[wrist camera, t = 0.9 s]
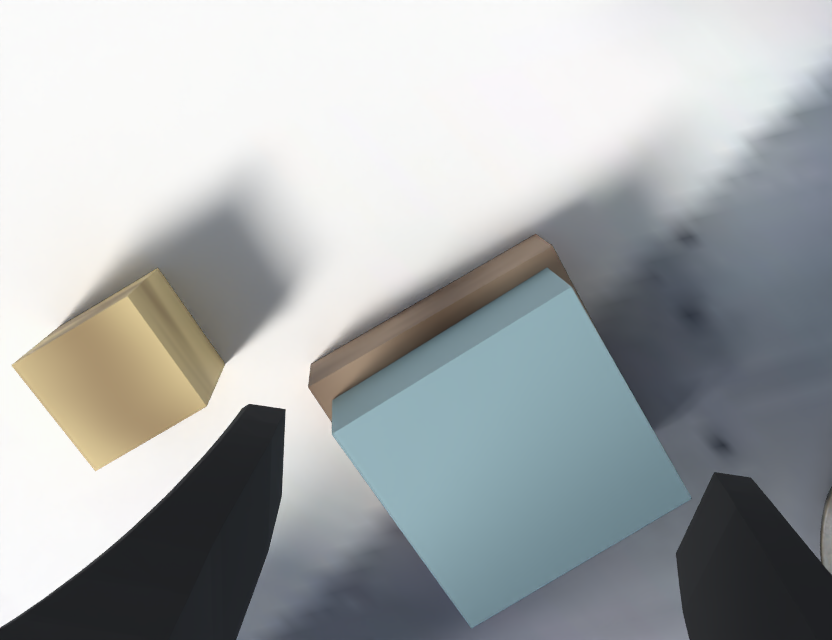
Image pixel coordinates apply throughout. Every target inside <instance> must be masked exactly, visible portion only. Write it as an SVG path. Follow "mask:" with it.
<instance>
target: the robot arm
mask: <svg viewBox="0 0 832 640" xmlns="http://www.w3.org/2000/svg"><path fill="white" fill-rule="evenodd" d="M285 410H286V409H280V408H273V407H267V406H260V405H253V404H248V405H247V406H245V407H244V408H242V409H241V411H240V412H239V414H238V415H237V416H236V418H235V419H234V420H233V421H232V423H231V424H230V425H229V426H228V428H227V429H226V430H225V431H224V433H223V434H222V435H221V436H220V437H219V439H218V440H217V441H216V442H215V443H214V445H213V446H212V447H211V448H210V449H209V450H208V451H207V453H206V454H205V455H204V456H203V457H202V458H201V459H200V461H199V462H198V463H197V464H196V465H195V466H194V467H193V468H192V469H191V470H190V471H189V472H188V473H187V474H186V475H185V477H184V478H183V479H182V480H181V481H180V482H179V483H178V484H177V485H176V486H175V487H174V488H173V489H172V490H171V491H170V492H169V493H168V494H167V495H166V496H165V497H164V498H163V499H162V500H161V501H160V502H159V503H158V504H157V505H156V506H155V507H154V508H153V509H152V510H151V511H150V512H149V513H147V514H146V515H145V516H144V517H143V518H142V519H141V520H140V521H139V522H138V523H137V524H136V525H135V526H134V527H133V528H132V529H130V530H129V531H128V532H127V533H126V534H125V535H124V536H123V537H121V538H120V539H119V540H118V541H117V542H116V543H115V544H113V545H112V546H111V547H110V548H109V549H107V550H106V551H105V552H104V553H103V554H101V555H100V556H99V557H98V558H96V559H95V560H94V561H93V562H92V563H90V564H89V565H88V566H87V567H85V568H84V569H83V570H82V571H80V572H79V573H78V574H76V575H75V576H74V577H72V578H71V579H70V580H68V581H67V582H66V583H64V584H63V585H61V586H60V587H59V588H57V589H56V590H55V591H53V592H52V593H51V594H49V595H48V596H47V597H45V598H44V599H43V600H41V601H40V602H38V603H37V604H35V605H34V606H33V607H31V608H30V609H28V610H27V611H25V612H24V613H22V614H21V615H19V616H18V617H16V618H15V619H13V620H12V621H10V622H8V623H7V624H5V625H4V626H2V627H1V628H0V640H236V638H237V636H238V633H239V630H240V628H241V625H242V622H243V619H244V617H245V614H246V611H247V608H248V606H249V603H250V600H251V598H252V595H253V592H254V589H255V587H256V584H257V581H258V578H259V576H260V573H261V570H262V567H263V565H264V562H265V559H266V556H267V553H268V550H269V546H270V542H271V538H272V534H273V530H274V526H275V522H276V518H277V513H278V509H279V505H280V501H281V497H282V477H283V455H284V432H285ZM676 558H677V567H678V577H679V586H680V594H681V601H682V608H683V614H684V618H685V623H686V627H687V631H688V635H689V639H690V640H832V575H831V573H830V572H829V571H828V570H827V569H826V568H825V566H824V565H823V564H822V563H821V562H820V561H819V559H818V558H817V557H816V556H815V555H814V553H813V552H812V551H811V550H810V549H809V547H808V546H807V545H806V544H805V543H804V541H803V540H802V539H801V538H800V536H799V535H798V534H797V533H796V532H795V530H794V529H793V528H792V527H791V525H790V524H789V523H788V522H787V521H786V519H785V518H784V517H783V516H782V514H781V513H780V512H779V511H778V510H777V508H776V507H775V506H774V505H773V503H772V502H771V501H770V500H769V499H768V497H767V496H766V495H765V494H764V493H763V491H762V490H761V489H760V488H759V487H758V486H757V484H756V483H755V482H754V481H753V480H752V479H751V478H750V477H743V476H736V475H730V474H723V473H716V472H714V474H713V476H712V478H711V480H710V483H709V485H708V487H707V489H706V491H705V493H704V495H703V497H702V499H701V502H700V504H699V506H698V508H697V510H696V512H695V514H694V516H693V519H692V521H691V523H690V525H689V527H688V529H687V531H686V533H685V536H684V538H683V540H682V542H681V544H680V546H679V548H678V550H677V552H676Z"/></svg>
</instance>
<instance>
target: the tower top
mask: <svg viewBox="0 0 832 640" xmlns="http://www.w3.org/2000/svg"><path fill="white" fill-rule="evenodd" d="M332 435H333V437H334V438H335V439H336V441H337V442H338V444H339V445H340V446H341V448H342V449H343V450H344V452H345V453H346V455H347V456H348V457H349V459H350V460H351V462H352V463H353V464H354V466H355V467H356V469H357V470H358V471H359V473H360V474H361V476H362V477H363V478H364V480H365V481H366V483H367V484H368V485H369V487H370V488H371V489H372V491H373V492H374V494H375V495H376V496H377V498H378V499H379V501H380V502H381V503H382V505H383V506H384V508H385V509H386V510H387V512H388V513H389V515H390V516H391V517H392V519H393V520H394V522H395V523H396V524H397V526H398V527H399V528H400V530H401V531H402V533H403V534H404V535H405V537H406V538H407V540H408V541H409V542H410V544H411V545H412V547H413V548H414V549H415V551H416V552H417V554H418V555H419V556H420V558H421V559H422V560H423V562H424V563H425V565H426V566H427V567H428V569H429V570H430V572H431V573H432V574H433V576H434V577H435V579H436V580H437V581H438V583H439V584H440V586H441V587H442V588H443V590H444V591H445V593H446V594H447V595H448V597H449V598H450V599H451V601H452V602H453V604H454V605H455V606H456V608H457V609H458V611H459V612H460V613H461V615H462V616H463V618H464V619H465V620H466V622H467V623H468V625H469V626H470V627H471V629H472V628H473V627H475V626H477V625H478V624H480V623H482V622H483V621H485V620H487V619H489V618H490V617H492V616H494V615H495V614H497V613H499V612H500V611H502V610H504V609H505V608H507V607H509V606H511V605H512V604H514V603H516V602H517V601H519V600H521V599H522V598H524V597H526V596H528V595H529V594H531V593H533V592H534V591H536V590H538V589H539V588H541V587H543V586H545V585H546V584H548V583H550V582H551V581H553V580H555V579H556V578H558V577H560V576H561V575H563V574H565V573H567V572H568V571H570V570H572V569H573V568H575V567H577V566H578V565H580V564H582V563H584V562H585V561H587V560H589V559H590V558H592V557H594V556H595V555H597V554H599V553H600V552H602V551H604V550H606V549H607V548H609V547H611V546H612V545H614V544H616V543H617V542H619V541H621V540H623V539H624V538H626V537H628V536H629V535H631V534H633V533H634V532H636V531H638V530H640V529H641V528H643V527H645V526H646V525H648V524H650V523H651V522H653V521H655V520H656V519H658V518H660V517H662V516H663V515H665V514H667V513H668V512H670V511H672V510H673V509H675V508H677V507H679V506H680V505H682V504H684V503H685V502H687V501H689V500H690V499H692V498H691V496H690V494H689V493H688V491H687V489H686V487H685V485H684V484H683V482H682V480H681V478H680V477H679V475H678V473H677V471H676V470H675V468H674V466H673V464H672V463H671V461H670V459H669V457H668V456H667V454H666V452H665V450H664V449H663V447H662V445H661V443H660V442H659V440H658V438H657V436H656V434H655V433H654V431H653V429H652V427H651V426H650V424H649V422H648V420H647V419H646V417H645V415H644V413H643V412H642V410H641V408H640V406H639V405H638V403H637V401H636V399H635V398H634V396H633V394H632V392H631V391H630V389H629V387H628V385H627V383H626V382H625V380H624V378H623V376H622V375H621V373H620V371H619V369H618V368H617V366H616V364H615V362H614V361H613V359H612V357H611V355H610V354H609V352H608V350H607V348H606V347H605V345H604V343H603V341H602V340H601V338H600V336H599V334H598V332H597V331H596V329H595V327H594V325H593V324H592V322H591V320H590V318H589V317H588V315H587V313H586V311H585V310H584V308H583V306H582V304H581V303H580V301H579V299H578V297H577V296H576V294H575V292H574V290H573V289H572V287H571V286H570V285H569V284H567V283H566V282H565V281H564V280H562V279H561V278H560V277H559V276H557V275H556V274H555V273H554V272H552V271H551V270H550V269H548V268H545V269H544V270H542V271H540V272H539V273H537V274H536V275H534V276H532V277H531V278H529V279H527V280H526V281H524V282H523V283H521V284H519V285H518V286H516V287H515V288H513V289H511V290H510V291H508V292H506V293H505V294H503V295H502V296H500V297H498V298H497V299H495V300H493V301H492V302H490V303H489V304H487V305H485V306H484V307H482V308H481V309H479V310H477V311H476V312H474V313H472V314H471V315H469V316H468V317H466V318H464V319H463V320H461V321H459V322H458V323H456V324H455V325H453V326H451V327H450V328H448V329H447V330H445V331H443V332H442V333H440V334H438V335H437V336H435V337H434V338H432V339H430V340H429V341H427V342H426V343H424V344H422V345H421V346H419V347H417V348H416V349H414V350H413V351H411V352H409V353H408V354H406V355H404V356H403V357H401V358H400V359H398V360H396V361H395V362H393V363H392V364H390V365H388V366H387V367H385V368H383V369H382V370H380V371H379V372H377V373H375V374H374V375H372V376H370V377H369V378H367V379H366V380H364V381H362V382H361V383H359V384H358V385H356V386H354V387H353V388H351V389H349V390H348V391H346V392H345V393H343V394H341V395H340V396H338V397H336V398H335V399H333V400H332Z"/></svg>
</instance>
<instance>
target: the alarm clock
mask: <svg viewBox="0 0 832 640" xmlns="http://www.w3.org/2000/svg"><path fill="white" fill-rule="evenodd" d="M820 553H821V563H822V564H823V565H824V566H825V568H826V569H827V570H828V571H829V572H830V573H831V575H832V487H831V489H830V491H829V493H828V495H827V498H826V502H825V505H824V510H823V515H822V522H821V534H820Z"/></svg>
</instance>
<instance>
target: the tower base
mask: <svg viewBox="0 0 832 640" xmlns="http://www.w3.org/2000/svg"><path fill="white" fill-rule="evenodd" d="M545 268H548V269H550V270H551V271H552V272H554V273H555V274H556V275H557V276H559V277H560V278H561V279H562V280H564V281H565V282H566V283H567V284H569V285H570V286H571V287H572V289H573V290H574V292H575V294H576V296H577V297H578V299H579V301H580V303H581V304H582V306H583V308H584V310H585V311H586V313H587V315H588V317H589V318H590V316H589V314H588V312H587V310H586V308H585V306H584V305H583V303H582V301H581V299H580V297H579V295H578V293H577V291H576V289H575V287H574V286H573V284H572V282H571V280H570V278H569V276H568V274H567V272H566V270H565V268H564V267H563V265H562V263H561V261H560V259H559V257H558V255H557V253H556V251H555V249H554V248H553V246H552V245H551V244H549V243H548V242H546V241H545V240H544V239H542V238H541V237H539V236H538V235H537V234H535V235H533V236H531V237H530V238H528V239H526V240H524V241H523V242H521V243H519V244H517V245H516V246H514V247H512V248H511V249H509V250H507V251H505V252H504V253H502V254H500V255H498V256H497V257H495V258H493V259H492V260H490V261H488V262H486V263H485V264H483V265H481V266H480V267H478V268H476V269H474V270H473V271H471V272H469V273H467V274H466V275H464V276H462V277H461V278H459V279H457V280H455V281H454V282H452V283H450V284H448V285H447V286H445V287H443V288H442V289H440V290H438V291H436V292H435V293H433V294H431V295H430V296H428V297H426V298H424V299H423V300H421V301H419V302H417V303H416V304H414V305H412V306H411V307H409V308H407V309H405V310H404V311H402V312H400V313H398V314H397V315H395V316H393V317H392V318H390V319H388V320H386V321H385V322H383V323H381V324H379V325H378V326H376V327H374V328H373V329H371V330H369V331H367V332H366V333H364V334H362V335H361V336H359V337H357V338H355V339H354V340H352V341H350V342H348V343H347V344H345V345H343V346H342V347H340V348H338V349H336V350H335V351H333V352H331V353H329V354H328V355H326V356H324V357H323V358H321V359H319V360H317V361H316V362H314V363H312V364H311V367H310V376H309V384H308V388H309V389H310V391H311V392H312V394H313V395H314V397H315V398H316V400H317V401H318V403H319V404H320V406H321V407H322V409H323V410H324V412H325V413H326V415H327V416H328V418H329V419H330V421H331V422H332V400H333V399H335V398H336V397H338V396H340V395H341V394H343V393H345V392H346V391H348V390H349V389H351V388H353V387H354V386H356V385H358V384H359V383H361V382H362V381H364V380H366V379H367V378H369V377H370V376H372V375H374V374H375V373H377V372H379V371H380V370H382V369H383V368H385V367H387V366H388V365H390V364H392V363H393V362H395V361H396V360H398V359H400V358H401V357H403V356H404V355H406V354H408V353H409V352H411V351H413V350H414V349H416V348H417V347H419V346H421V345H422V344H424V343H426V342H427V341H429V340H430V339H432V338H434V337H435V336H437V335H438V334H440V333H442V332H443V331H445V330H447V329H448V328H450V327H451V326H453V325H455V324H456V323H458V322H459V321H461V320H463V319H464V318H466V317H468V316H469V315H471V314H472V313H474V312H476V311H477V310H479V309H481V308H482V307H484V306H485V305H487V304H489V303H490V302H492V301H493V300H495V299H497V298H498V297H500V296H502V295H503V294H505V293H506V292H508V291H510V290H511V289H513V288H515V287H516V286H518V285H519V284H521V283H523V282H524V281H526V280H527V279H529V278H531V277H532V276H534V275H536V274H537V273H539V272H540V271H542V270H544V269H545ZM590 320H591V318H590ZM591 322H592V320H591ZM592 324H593V322H592ZM593 325H594V324H593ZM594 327H595V325H594ZM595 329H596V327H595ZM596 331H597V329H596ZM597 332H598V331H597ZM598 334H599V333H598ZM599 336H600V335H599ZM600 338H601V337H600ZM601 340H602V339H601ZM604 345H605V344H604ZM605 347H606V346H605Z"/></svg>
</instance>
